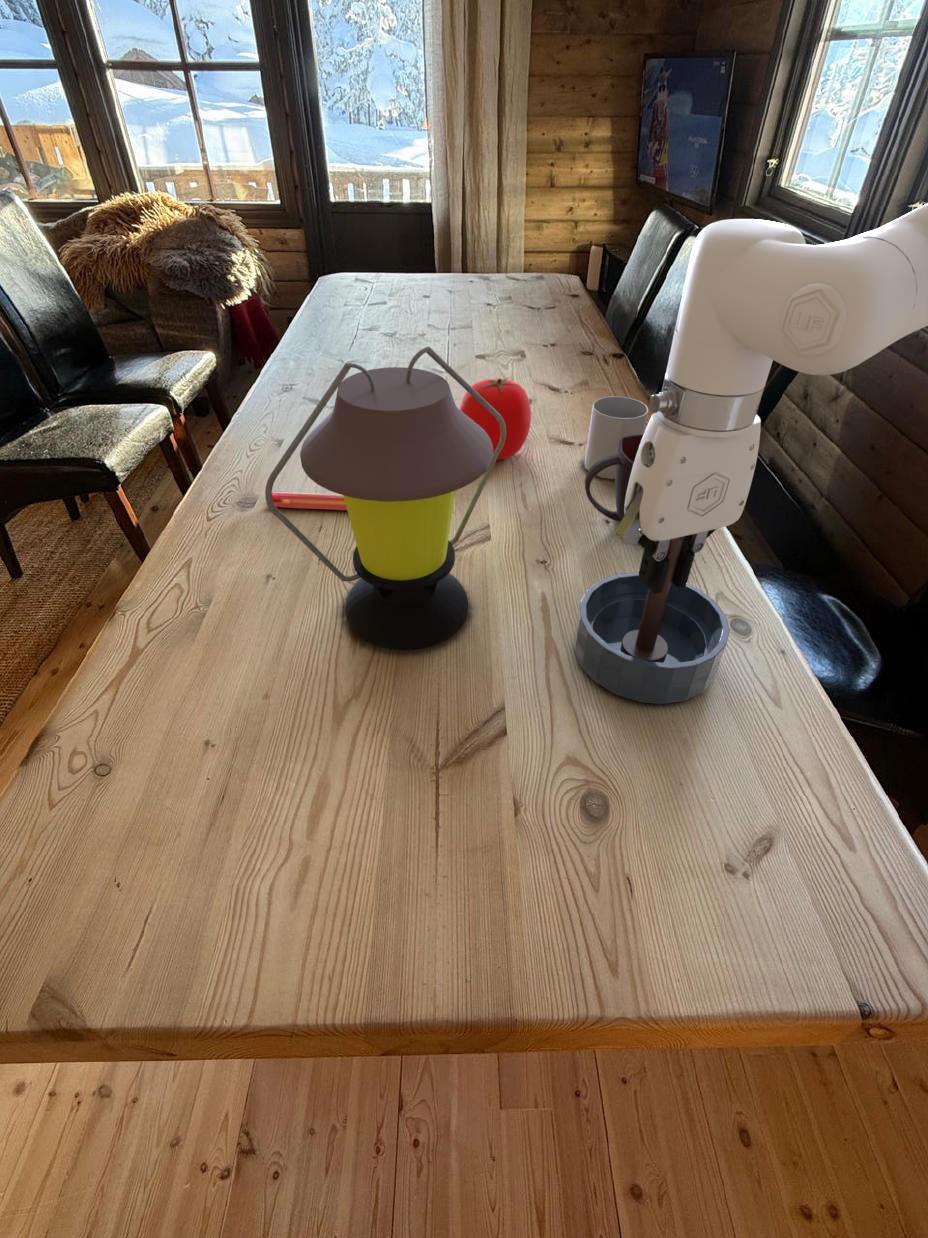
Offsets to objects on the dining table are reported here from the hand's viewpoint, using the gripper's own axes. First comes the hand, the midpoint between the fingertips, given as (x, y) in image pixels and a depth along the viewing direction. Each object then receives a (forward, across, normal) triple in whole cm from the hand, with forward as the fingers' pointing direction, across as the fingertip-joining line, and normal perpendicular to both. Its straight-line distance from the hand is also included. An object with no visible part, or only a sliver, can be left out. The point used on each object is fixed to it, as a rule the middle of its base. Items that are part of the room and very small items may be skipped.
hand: (661, 581), depth 65 cm
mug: (+12, +13, +24) cm, 30 cm away
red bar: (+12, -22, +43) cm, 50 cm away
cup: (+12, +20, +42) cm, 48 cm away
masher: (+10, 0, 0) cm, 10 cm away
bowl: (+12, +1, +1) cm, 12 cm away
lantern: (+12, -21, +18) cm, 31 cm away
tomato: (+12, +4, +52) cm, 54 cm away
